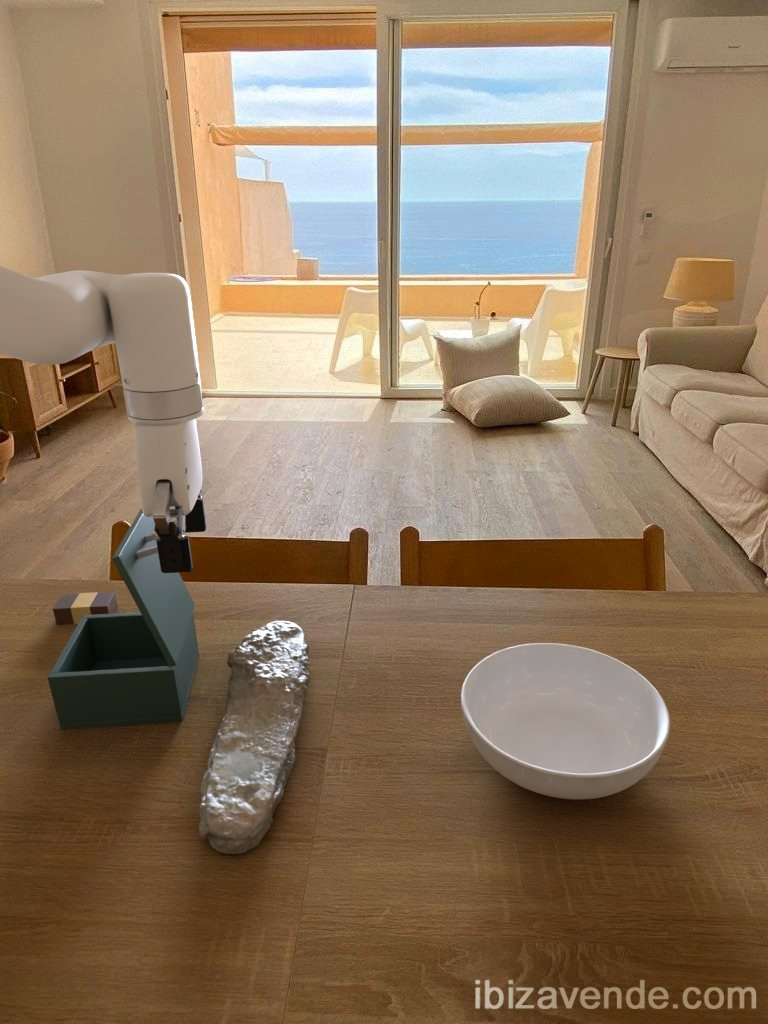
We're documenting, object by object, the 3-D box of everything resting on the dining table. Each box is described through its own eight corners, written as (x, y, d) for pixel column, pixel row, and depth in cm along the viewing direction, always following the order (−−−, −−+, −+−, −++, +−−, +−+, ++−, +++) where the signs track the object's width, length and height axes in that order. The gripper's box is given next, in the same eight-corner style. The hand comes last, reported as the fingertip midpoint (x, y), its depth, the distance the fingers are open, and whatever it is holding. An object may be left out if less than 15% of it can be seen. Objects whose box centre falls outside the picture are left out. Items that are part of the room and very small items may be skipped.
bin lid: (111, 558, 71) (161, 543, 70) (140, 508, 82) (183, 495, 82) (169, 667, 77) (215, 653, 76) (189, 606, 88) (229, 594, 88)
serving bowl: (497, 670, 88) (500, 624, 85) (673, 723, 78) (683, 673, 76) (427, 781, 71) (428, 729, 68) (640, 865, 62) (651, 808, 59)
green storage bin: (60, 729, 79) (47, 677, 76) (93, 662, 90) (82, 615, 87) (182, 721, 80) (173, 669, 77) (199, 656, 91) (192, 608, 88)
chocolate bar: (56, 625, 98) (52, 608, 97) (65, 609, 102) (62, 593, 101) (110, 622, 99) (107, 605, 98) (118, 606, 103) (114, 591, 102)
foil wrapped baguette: (175, 868, 64) (284, 871, 64) (169, 829, 61) (283, 833, 61) (244, 633, 95) (317, 636, 95) (242, 601, 92) (317, 604, 92)
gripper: (146, 382, 78) (166, 519, 85) (102, 427, 63) (132, 591, 70) (213, 380, 79) (228, 516, 86) (187, 424, 63) (208, 587, 70)
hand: (185, 550), depth 78 cm, fingers open, 9 cm apart
